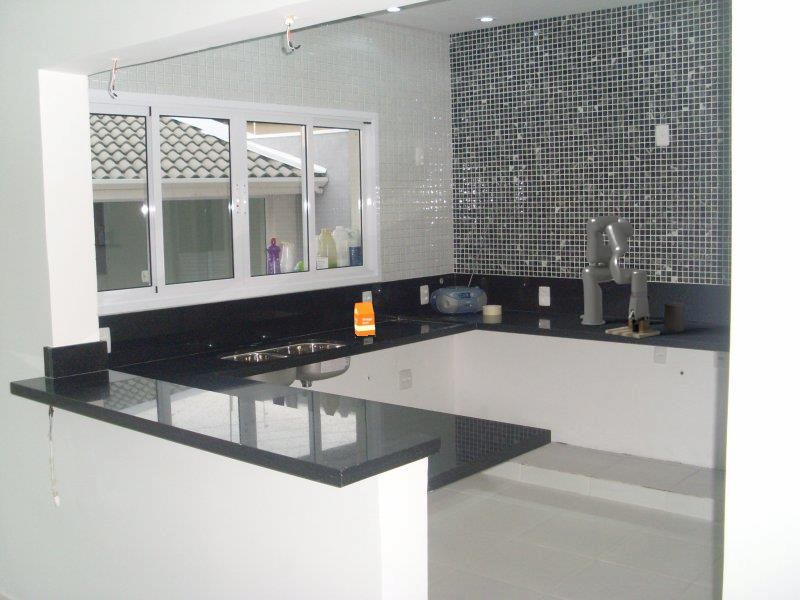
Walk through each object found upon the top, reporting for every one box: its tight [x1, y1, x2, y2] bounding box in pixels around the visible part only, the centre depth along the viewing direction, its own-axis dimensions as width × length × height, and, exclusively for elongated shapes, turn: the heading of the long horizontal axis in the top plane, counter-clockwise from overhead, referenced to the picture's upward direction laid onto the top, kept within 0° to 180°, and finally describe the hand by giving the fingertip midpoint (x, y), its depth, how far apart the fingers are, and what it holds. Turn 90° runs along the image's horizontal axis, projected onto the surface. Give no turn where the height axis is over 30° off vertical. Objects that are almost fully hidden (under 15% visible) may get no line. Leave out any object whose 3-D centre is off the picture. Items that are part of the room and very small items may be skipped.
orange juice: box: [353, 301, 376, 336], centre depth 451 cm, size 8×9×20 cm
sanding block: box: [628, 319, 651, 333], centre depth 433 cm, size 9×5×6 cm, turn 34°
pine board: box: [604, 326, 661, 339], centre depth 437 cm, size 22×15×2 cm
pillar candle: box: [663, 301, 685, 333], centre depth 440 cm, size 10×10×15 cm
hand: (639, 330), depth 433 cm, fingers closed on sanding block, 5 cm apart
